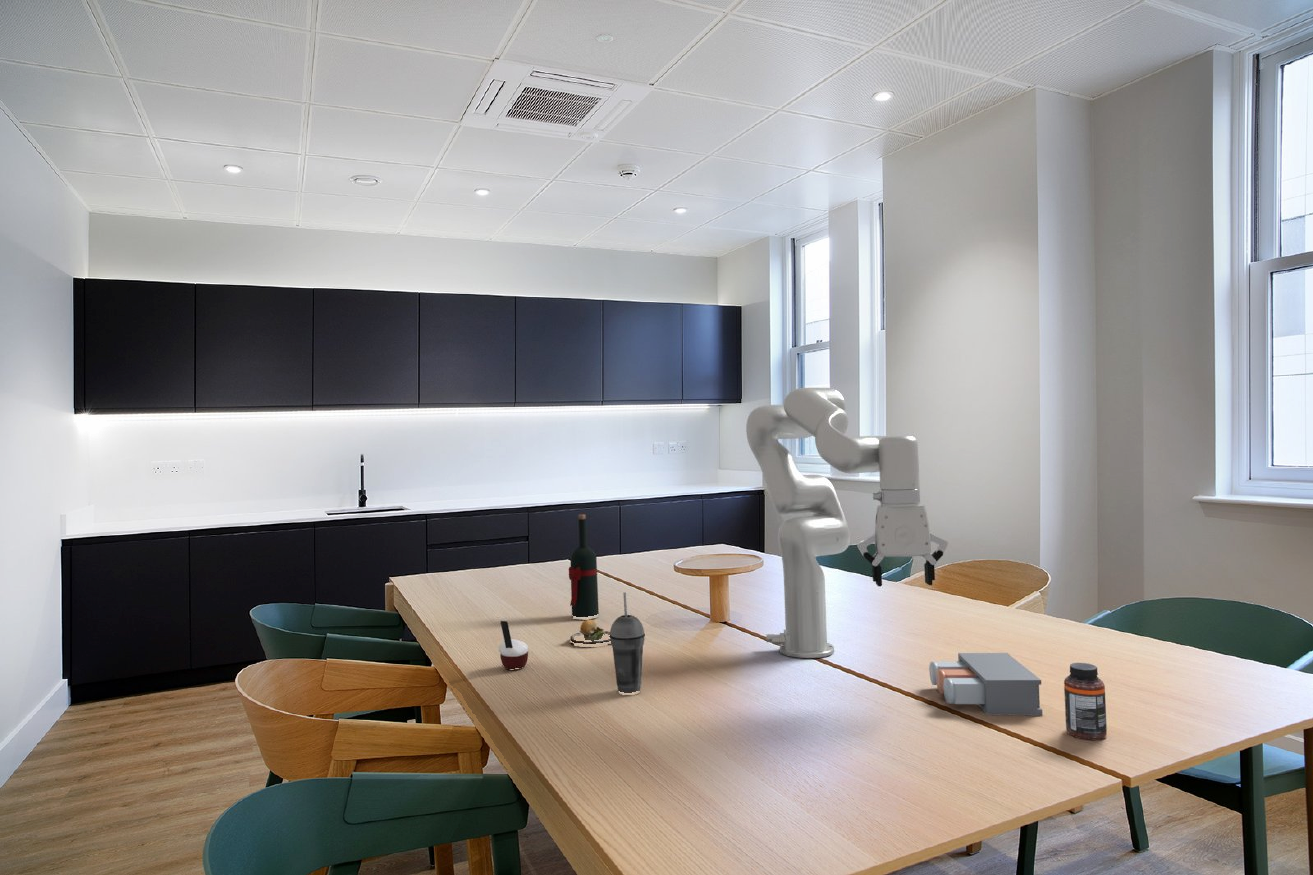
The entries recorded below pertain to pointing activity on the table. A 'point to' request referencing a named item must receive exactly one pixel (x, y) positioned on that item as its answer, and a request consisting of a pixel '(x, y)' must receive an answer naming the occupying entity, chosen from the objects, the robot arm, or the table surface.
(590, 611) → the wine bottle
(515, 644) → the cocoa
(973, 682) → the plug near
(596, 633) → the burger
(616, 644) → the beverage cup
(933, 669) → the plug far
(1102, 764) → the table surface
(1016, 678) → the socket block
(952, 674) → the plug terracotta
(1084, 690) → the supplement bottle
